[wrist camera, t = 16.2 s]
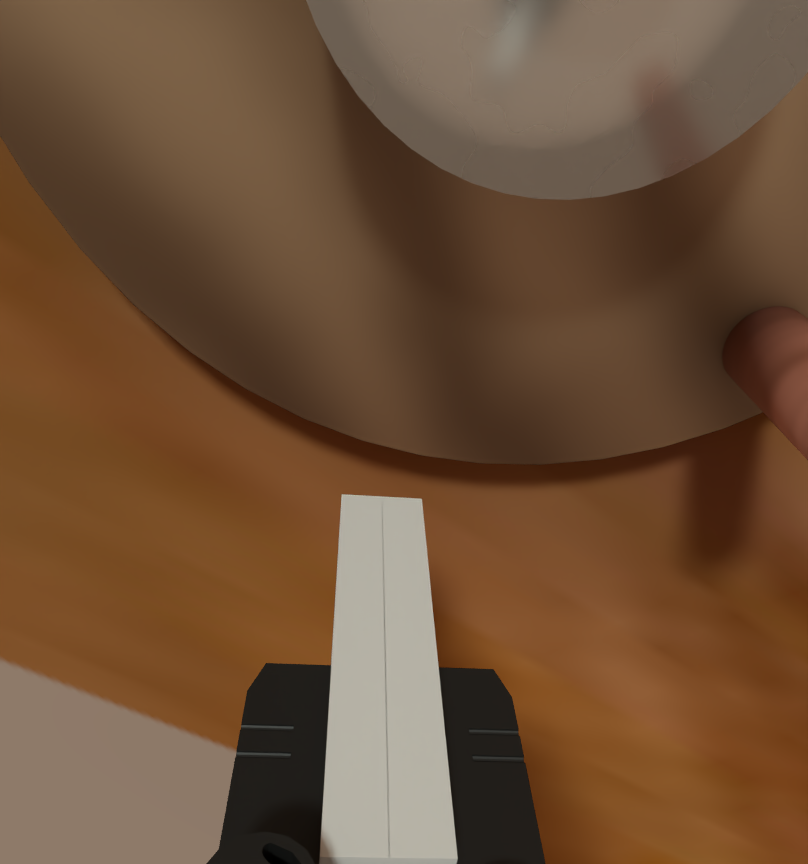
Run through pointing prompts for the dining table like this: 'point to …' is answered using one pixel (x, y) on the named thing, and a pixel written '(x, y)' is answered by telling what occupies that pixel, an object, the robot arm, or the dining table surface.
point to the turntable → (405, 244)
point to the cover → (567, 83)
